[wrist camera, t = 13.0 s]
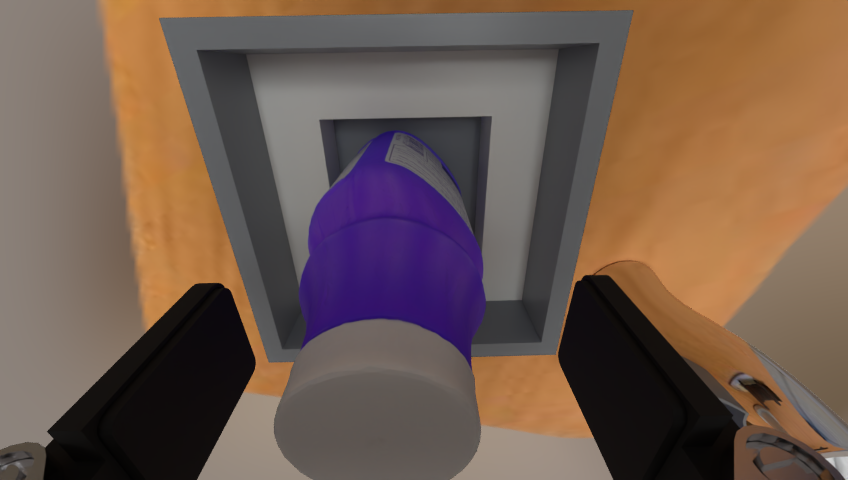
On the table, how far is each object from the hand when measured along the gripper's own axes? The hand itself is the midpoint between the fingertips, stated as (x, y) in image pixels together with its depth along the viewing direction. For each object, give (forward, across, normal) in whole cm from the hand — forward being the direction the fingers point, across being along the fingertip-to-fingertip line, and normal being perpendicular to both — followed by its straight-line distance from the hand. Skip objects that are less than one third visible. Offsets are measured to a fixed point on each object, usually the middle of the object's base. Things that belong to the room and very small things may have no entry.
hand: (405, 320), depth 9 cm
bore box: (+15, 0, +1) cm, 15 cm away
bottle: (+14, 0, +1) cm, 14 cm away
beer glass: (+15, -17, +11) cm, 25 cm away
